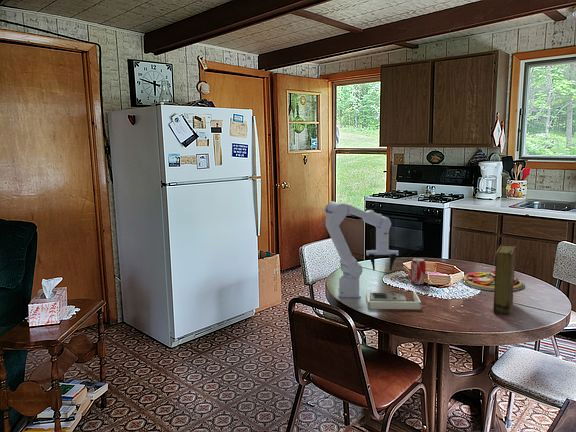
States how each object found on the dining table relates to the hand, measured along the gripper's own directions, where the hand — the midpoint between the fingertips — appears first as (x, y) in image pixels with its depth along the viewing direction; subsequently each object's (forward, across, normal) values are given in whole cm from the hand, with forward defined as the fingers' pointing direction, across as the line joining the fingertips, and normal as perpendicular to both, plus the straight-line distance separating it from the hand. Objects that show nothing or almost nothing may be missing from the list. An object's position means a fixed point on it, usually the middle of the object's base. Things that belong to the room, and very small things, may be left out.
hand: (382, 270), depth 206 cm
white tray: (+9, -3, +19) cm, 21 cm away
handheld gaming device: (+10, -1, +18) cm, 21 cm away
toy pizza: (+10, -53, -12) cm, 55 cm away
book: (+10, -47, +22) cm, 53 cm away
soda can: (+10, -18, -10) cm, 23 cm away
